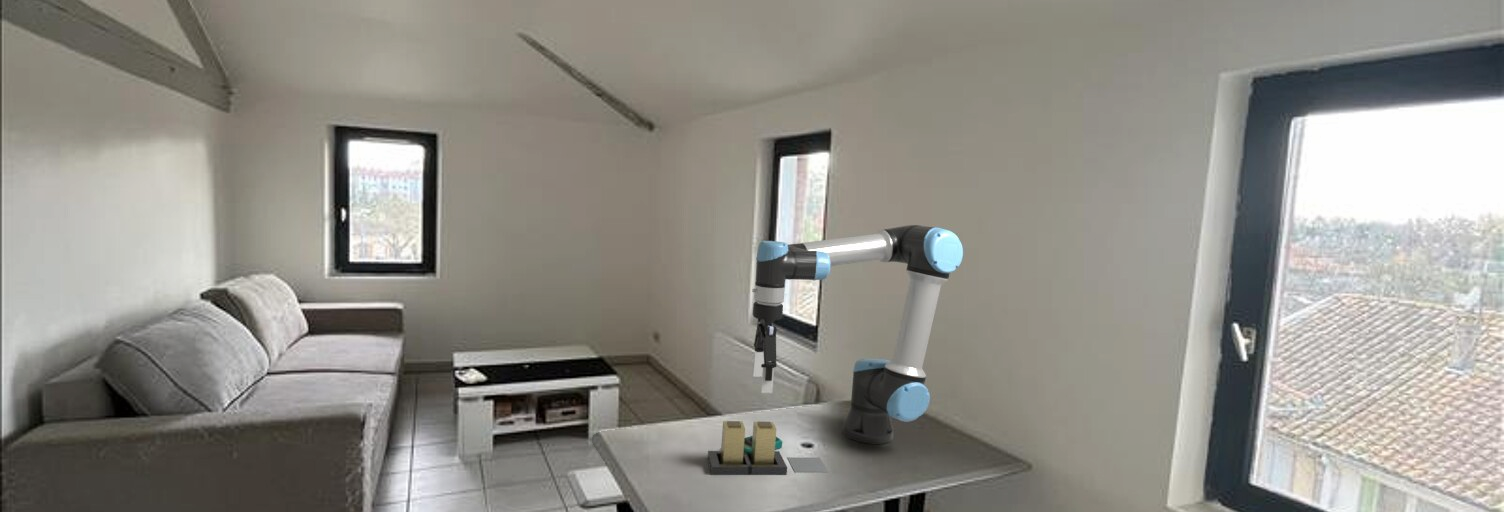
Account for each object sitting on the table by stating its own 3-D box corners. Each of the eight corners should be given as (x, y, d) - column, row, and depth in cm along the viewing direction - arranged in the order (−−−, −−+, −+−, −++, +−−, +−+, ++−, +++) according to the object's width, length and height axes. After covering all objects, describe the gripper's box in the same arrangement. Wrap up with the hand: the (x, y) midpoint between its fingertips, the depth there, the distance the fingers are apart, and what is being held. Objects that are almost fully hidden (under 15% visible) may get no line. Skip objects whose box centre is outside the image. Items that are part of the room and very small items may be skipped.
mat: (819, 459, 183) (819, 457, 183) (828, 474, 174) (828, 471, 174) (787, 459, 181) (787, 457, 181) (794, 474, 173) (794, 471, 173)
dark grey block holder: (778, 460, 181) (779, 451, 180) (786, 476, 171) (787, 467, 170) (707, 460, 177) (708, 450, 177) (711, 476, 167) (712, 467, 167)
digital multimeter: (783, 448, 188) (784, 438, 188) (746, 460, 178) (747, 450, 177) (764, 439, 193) (765, 430, 193) (726, 451, 183) (728, 440, 182)
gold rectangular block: (739, 462, 176) (742, 419, 175) (742, 470, 171) (745, 427, 170) (720, 462, 175) (723, 419, 174) (722, 470, 170) (725, 426, 169)
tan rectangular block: (769, 462, 178) (772, 420, 176) (772, 470, 173) (776, 427, 171) (750, 462, 177) (753, 420, 175) (753, 470, 172) (757, 427, 171)
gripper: (747, 293, 183) (741, 369, 185) (761, 311, 158) (754, 399, 160) (774, 294, 184) (768, 370, 186) (793, 313, 159) (785, 400, 162)
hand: (762, 384), depth 173 cm, fingers open, 13 cm apart
